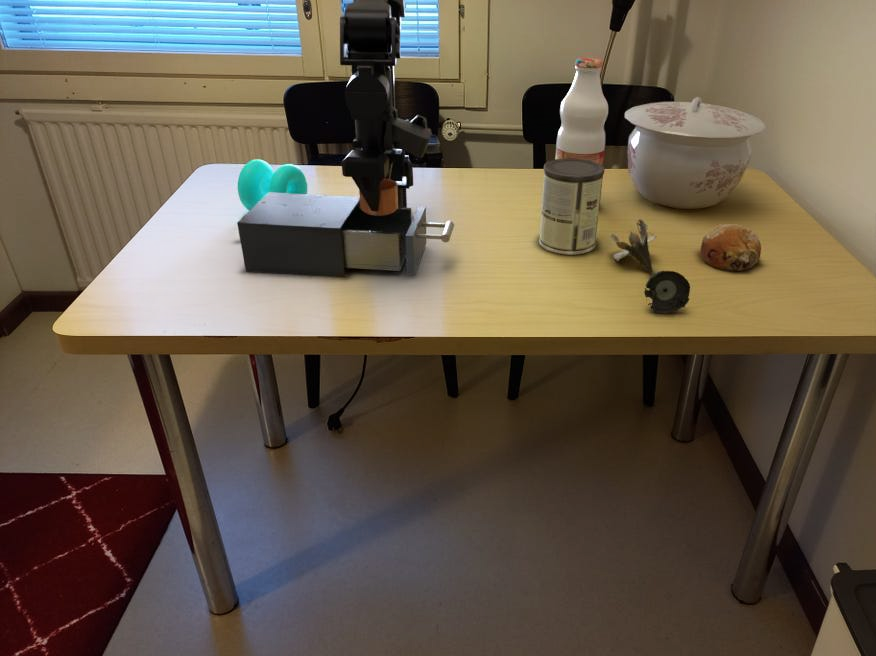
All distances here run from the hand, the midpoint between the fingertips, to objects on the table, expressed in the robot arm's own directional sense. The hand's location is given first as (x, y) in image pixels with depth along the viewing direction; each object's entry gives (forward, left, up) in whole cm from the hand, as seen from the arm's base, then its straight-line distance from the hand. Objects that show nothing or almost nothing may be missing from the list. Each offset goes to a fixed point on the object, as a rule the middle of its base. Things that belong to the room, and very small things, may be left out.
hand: (379, 203), depth 110 cm
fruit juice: (-46, -7, -11) cm, 48 cm away
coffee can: (-33, +8, -11) cm, 35 cm away
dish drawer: (-2, 0, -10) cm, 10 cm away
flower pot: (0, 0, -1) cm, 1 cm away
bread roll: (-54, +27, -11) cm, 61 cm away
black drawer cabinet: (+10, -8, -10) cm, 17 cm away
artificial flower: (-35, +26, -11) cm, 45 cm away
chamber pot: (-69, -1, -11) cm, 70 cm away
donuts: (+9, -30, -11) cm, 33 cm away
